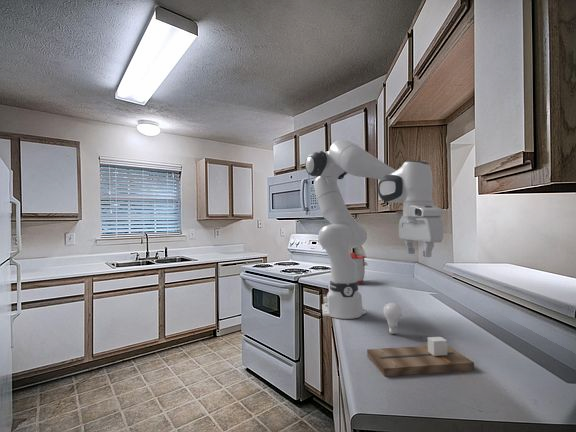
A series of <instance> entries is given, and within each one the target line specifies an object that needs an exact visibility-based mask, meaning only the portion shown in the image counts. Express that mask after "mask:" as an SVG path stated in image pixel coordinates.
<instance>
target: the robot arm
mask: <svg viewBox="0 0 576 432" xmlns="http://www.w3.org/2000/svg"><path fill="white" fill-rule="evenodd" d="M304 163H305V170H306V172H307V174H308V175H309V176H311V177H315V178H314V180H313V190H314V193H315V199H316V201H317V204H318V206H319V209H320V212H321V215H322V217H323V218H324V219H325V220H327V221H328V222H329V223H330V224H327V225H325V226H323V227H322V228H320V230H319V231H318V235H317V237H318V243H319V246H321V247H322V248H323V250H325V253H326V254H327V256H328V259H329V264H330V280H329V281H330V282H329V290H328V292H327V294H326V296H323V303H322V304H321V310H322V315H323V316H325V317H326V316H327V317H332V318H336V319H342V320H347V319H348V320H350V319H351V320H352V319H357V318H360V317H361V316H363V315H365V314H367V311H366V310H365V309H363V299H362V298H363V297H362V293H360V292H359V284H358V281H357V264H356V262H355V261H354V260H353V259H352V258H351V256H350V254H351V252H350V249H356V248H358V247H360V246H361V247H362V246H363V245H365V243H366V241H367V238H368V233H367V230H366V228H365V227H364V226H362V225H361V224H360V223H358V221H356V219H355V218H354V216H353V215H352V214H351V213H350V211H349V209H348V207H347V206H346V203H345V200H344V199H343V196H342V194H341V190H340V188H339V185H338V180H343V179H344V177H345V176H346V175H348V174H349V175H352V176H353V177H354V176H355V177H362V178H370V179H375V180H379V181H378V184H377V194H378V196H379V198H380V200H382V201H384V202H386V203H395V204H402V215H401V217H400V219H399V222H398V238H399V239H400V240H404V243H405V245H406V248H407V254H410V255H415V253H416V248H414V241H417V242H422V243H424V246H425V247H424V250H423V251H422V256H423V257H425V258H431V257H432V251H433V248H434V246H435V243H441V242H442V241H443V239H444V220H443V218H442V217H443V216H444V209H443V208H441V207H439V206H436V205H435V204H434V199H433V195H432V193H433V190H434V188H433V187H434V186H433V185H434V184H433V183H434V181H433V171H432V167H431V165H430V163H428V161H422V160H406V161H405V162H404V163H403V164H402V165H401V166H400V168H398V169H396V168H394V167H393V166H391V165H389V164H387V163H386V162H384V161H382V160H380V159H378V158H377V157H375V156H374V155H372V154H371V153H370V152H368V151H367V150H365V149H364V148H362V147H361V146H359V145H358V144H355V143H353V142H351V141H349V140H345V139H337V140H335V141H334V142H333V143H332V144H331V145H330V146H329V149H328V151H323V150H320V151H316V152H312V153H310V154H308V156H307V157H306V159H305V162H304Z"/></svg>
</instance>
